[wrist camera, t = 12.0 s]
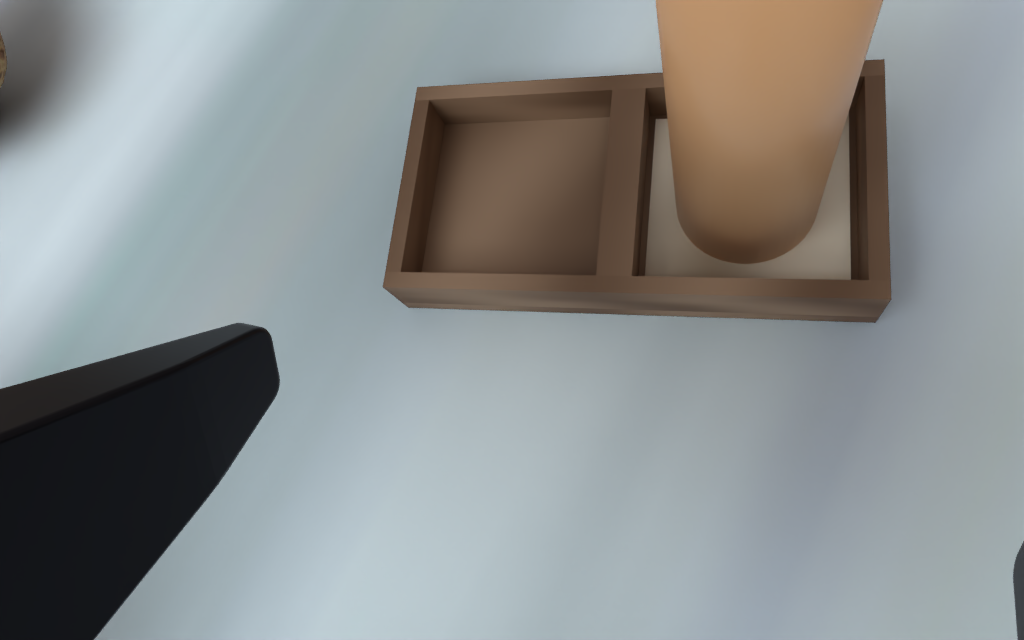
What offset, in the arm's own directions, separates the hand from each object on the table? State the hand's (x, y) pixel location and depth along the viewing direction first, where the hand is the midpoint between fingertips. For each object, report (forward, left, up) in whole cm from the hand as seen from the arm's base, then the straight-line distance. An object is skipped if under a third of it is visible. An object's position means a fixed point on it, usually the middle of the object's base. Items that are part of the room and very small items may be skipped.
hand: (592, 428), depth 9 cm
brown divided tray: (+8, -3, -13) cm, 16 cm away
